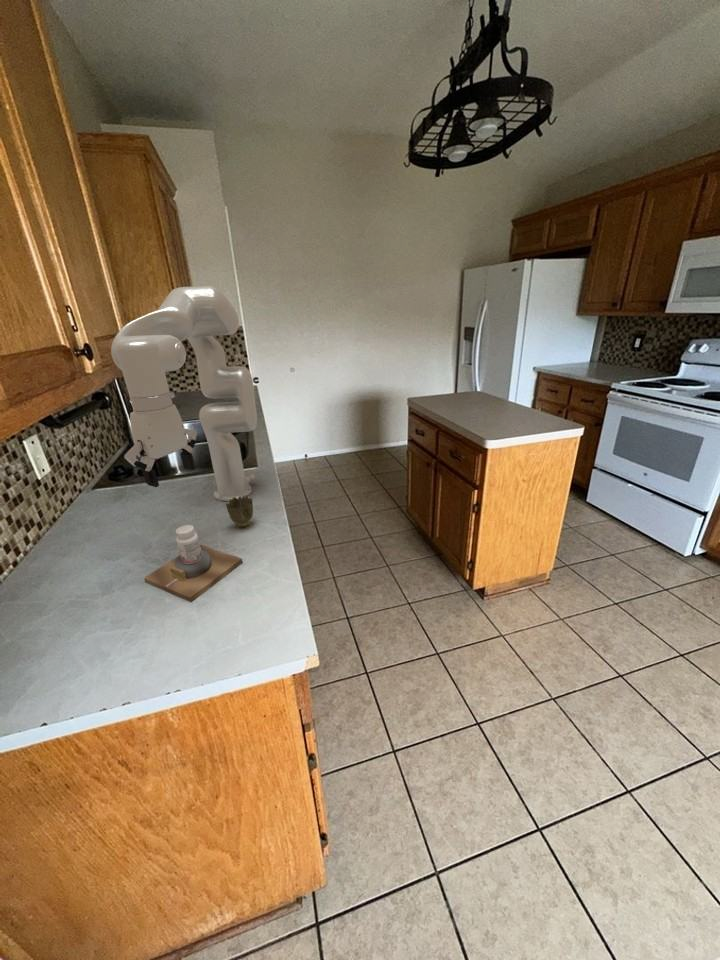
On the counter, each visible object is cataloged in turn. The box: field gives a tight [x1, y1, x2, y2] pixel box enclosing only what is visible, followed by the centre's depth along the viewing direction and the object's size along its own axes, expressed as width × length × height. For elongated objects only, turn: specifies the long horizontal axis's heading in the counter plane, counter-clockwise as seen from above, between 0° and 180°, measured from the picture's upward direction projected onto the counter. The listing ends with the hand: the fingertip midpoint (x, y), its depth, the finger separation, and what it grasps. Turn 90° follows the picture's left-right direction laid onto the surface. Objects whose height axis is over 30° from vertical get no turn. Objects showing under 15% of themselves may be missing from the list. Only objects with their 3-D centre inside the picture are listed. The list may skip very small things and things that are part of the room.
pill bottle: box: [175, 524, 203, 564], centre depth 94 cm, size 5×5×8 cm
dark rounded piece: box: [225, 496, 254, 529], centre depth 115 cm, size 8×7×8 cm
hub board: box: [143, 544, 244, 603], centre depth 96 cm, size 16×16×4 cm
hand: (172, 477), depth 89 cm, fingers open, 9 cm apart
